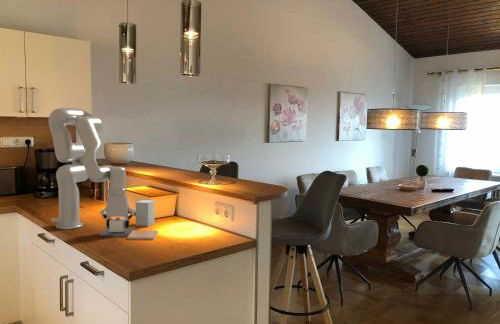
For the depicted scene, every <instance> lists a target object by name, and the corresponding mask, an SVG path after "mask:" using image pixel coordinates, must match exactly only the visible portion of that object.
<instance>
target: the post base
mask: <svg viewBox="0 0 500 324" xmlns="http://www.w3.org/2000/svg"><path fill="white" fill-rule="evenodd" d="M132 231H136V227H131V226H129V227H128V228H127V229H125V230H124V231H123V232H109V229H108V228H107V227H105V229H103V230H102V231H101V232H100V233H99V234H98V237H99V238H100V237H101V238H104V237H105V238H127V237H128V236H129V235H130V233H131V232H132Z"/></svg>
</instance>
